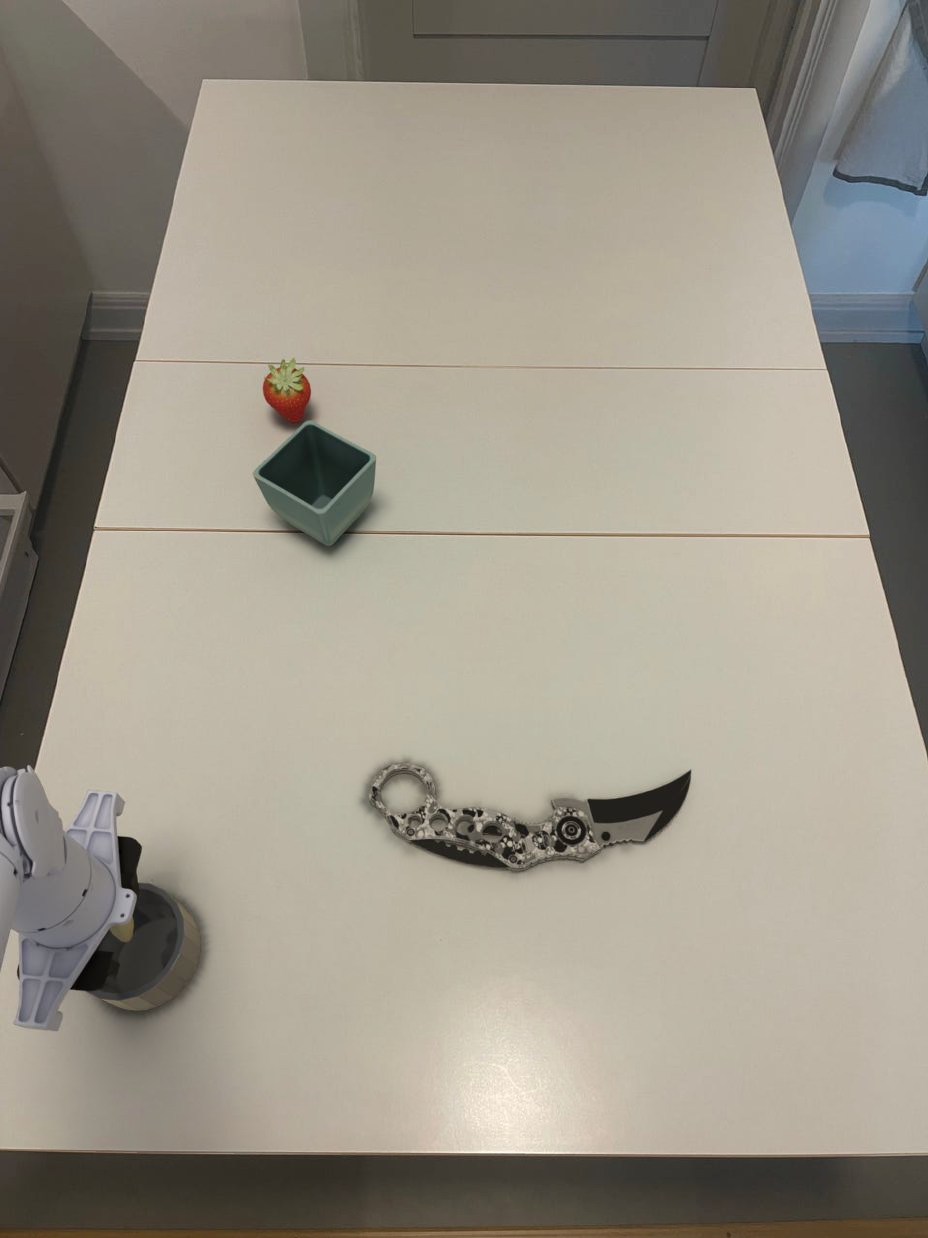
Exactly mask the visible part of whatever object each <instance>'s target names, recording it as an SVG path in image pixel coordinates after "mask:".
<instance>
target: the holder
mask: <svg viewBox="0 0 928 1238" xmlns="http://www.w3.org/2000/svg"><path fill="white" fill-rule="evenodd" d="M138 884H139V889H140V893H139V896H138V900H137V901H136V904H135V908H134V911H133V915H132V916H133V920H134V928H133V936H132V939H131V940H130V941H129V942H122V941H120V940H119V939H118V938H117V937H116V936H114V935H113V933H112V932H111V931H110V929H109V930H108V931H107V933H106V935H105V936H104V938H103V939H102V941H101V942H100V944H99V945H98V947H97V948H96V951H107V952H114V954H113V958H112V959H113V960H114V961H116V962H119V963H120V967H119V971H118V974H117V975H110V976H108V977H107V980H106V982H105V985H104V987H103V989H100V990H96V991H85V992H86V993H88V994H90V995H92V996H93V997H95V998H98V999H100V1000H103V1001H104V1002H106V1003H108V1004H111V1005H113V1006H115V1007H118V1008H120V1009H123V1010H127V1011H136V1012H137V1011H139V1012H141V1011H149V1010H151V1009H155V1008H157V1007H160V1006H163V1005H164V1004H166V1003H169V1002H170V1001H171V1000H173V999H174V998H175V997H176V996H178V995H179V994H180V993H182V991H183V990H184V989H185V987H187V985H188V984H189V982H190V981H191V980H192V978H193V976H194V975H195V972H196V971H197V968H198V965H199V961H200V958H201V952H202V941H201V934H200V930H199V926H198V924H197V922H196V921H195V918H193V916H192V915H191V913H190V912H188V911H187V909H186V908H185V907H184V906H182V904H180V903H179V901H177V899H176V898H174V897H173V896H172V895H171V894H170V893H169V892H168V891H167V890H165V889H163V888H161V887H160V886H157V885H155V884H153V883H149V882H139V881H138Z"/></svg>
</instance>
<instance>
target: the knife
mask: <svg viewBox="0 0 928 1238" xmlns="http://www.w3.org/2000/svg"><path fill="white" fill-rule="evenodd" d="M404 773H405V774H411V775H413V776H415V777H417V778H418V779H419V780H420V781H421V782H422V784H424V788H425V796H424V799H423V801H422V803H421V804H419V806H418V807H416V808H415V809H413V810H411V811H408V812H396V811H393V810H392V809H389V808H388V807H387V806H386V805H385V804H384V802H383V801H382V798H381V792H382V788H383V786H384V784H385V782H386V781H387V780H388V779H389V778H391V777H393V776H395V775H398V774H404ZM691 782H692V768H690V769H689V770H687V771H685V772H683V773H681V774H680V775H678V776H677V777H674V778H673V779H671V780H670V781H667V782H664V783H662V784H660V785H657V786H654V787H652V788H650V789H646V790H641V791H638V792H637V791H636V792H634V793H629V794H625V795H620V796H617V797H616V796H615V797H588V798H586V799H585V800H581V799H579V798H577V797H571V796H569V797H568V796H557V797H554V798H552V799H551V800H550V802H551V804H552V806H553V809H554V811H553V813H552V814H550V815H548V817H547V818H546V819H544V821H543V820H542V821H541V822H537V823H536V822H533V823H531V822H524V821H521V820H519V819H516V818H515V817H511V816H509V815H506V814H505V813H503V812H500V811H498V810H495V809H490V808H487V807H486V808H485V807H481V806H479V807H477V806H476V807H475V806H473V807H472V806H471V807H447V806H444V805H443V804H441V803H440V802H439V801H438V799H437V797H436V796H437V795H436V785H435V783H434V779H433V777H432V776H431V775H430V773H429V772H428V771H427V770H426V769H424V768H423V766H419V765H417V764H415V763H409V762H397V763H393V764H390V765H388V766H385V767H384V768H382V769H380V771H379V772H378V773H377V774H376V775H375V777H374V778H373V780H372V781H371V783H370V787H369V791H368V799H369V803H370V804H371V805H372V806H373V807H374V808H376V809H377V810H378V811H379V812H380V813H381V814H382V816H383V817H384V818H385V819H386V821H387V823H388V824H389V826H390V829H391V831H392V832H393V833H394V834H396V835H397V836H398V837H400V838H401V839H403V840H404V841H406V842H407V843H409V844H411V843H412V844H414V845H416V846H418V847H420V848H421V849H424V850H425V851H428V852H430V853H433V854H436V855H438V856H442V857H444V858H447V859H450V860H452V861H453V860H454V861H456V862H459V863H460V862H461V863H464V864H470V865H474V866H479V867H485V868H486V867H487V868H499V869H500V868H501V869H502V868H504V869H509V870H510V871H514V872H520V871H525V870H527V869H529V868H530V867H534V866H535V865H537V864H541V863H543V862H545V861H551V860H559V859H568V860H574V859H575V860H577V861H582V862H584V861H586V860H588V859H589V858H591V857H592V856H594V855H596V854H597V853H599V852H600V851H601V850H602V848H603V847H604V846H609V844H612V845H615V844H616V843H617V842H618V843H622V842H623V841H624V842H629V841H632V842H642V843H647V842H648V841H649V840H651V839H652V838H653V837H655V836H656V835H658V834H659V833H660V832H661V831H662V830H663V829H664V828H666V827H667V826H668V825H669V824H670V823H671V822H672V821H673V819H674V818H675V817H676V816H677V814H678V813H679V811H680V810H681V808H682V806H683V804H684V802H685V801H686V798H687V795H688V793H689V790H690V785H691ZM434 819H442V820H444V822H445V824H446V825H445V827H443V829H442V830H435V829H433V828H432V826H431V824H432V822H433V820H434ZM412 820H418V821H419V822H420V824H419V826H416V827H413V826H411V825H410V821H412ZM464 820H465V821H469V822H471V823H472V824H468V825H467V827H466V830H467V833H468V834H463V833H461V832H459V830H458V829H457V825H458V824H459V822H461V821H464ZM498 829H499V830H500V831H498ZM484 835H491V836H492V835H493V836H501V837H500V838H499V839H498V840H495V841H489V840H488V839H486V838H485V836H484ZM447 844H451V845H447ZM458 846H463V847H465V848H463V849H462V850H461V849H459V848H458ZM468 848H469V849H468ZM470 849H472V850H475V851H473V852H470Z"/></svg>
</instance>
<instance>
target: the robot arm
mask: <svg viewBox="0 0 928 1238" xmlns="http://www.w3.org/2000/svg"><path fill="white" fill-rule="evenodd" d="M125 804H126V801H125V800H124V799H123V798H122V796H121V795H120V794H119V792H117V791H107V790H99V789H98V790H97V789H88V790H87V791H86V794H85V797H84V799H83V802H82V803H81V806H80V807H79V809H78V811H77V813H76V814H75V815H74V817H73V818H72V820H71V822H70V823H69V824H68V826H67V827H66V828H65V830H64V827H63V820H62V818H61V817H60V813H59V811H58V810H57V809H55V808H54V807H53V806H52V804H51V803H50V801H49V799H48V796H47V794H46V791H45V788H44V785H43V783H42V781H41V779H40V778H39V776H38V773H36V771H35V770H34V768H33V767H32V765H30V764H27V766H26V768H20V769H17V770H16V768H14V767H12V766H3V767H0V972H1V971H2V967H3V963H4V959H5V954H6V950H7V946H8V942H9V938H10V934H11V930H12V931H14V932H16V933H17V934H18V965H17V969H16V977H17V979H18V981H19V984H18V985H19V990H18V991H19V993H18V995H19V997H18V1003H17V1004H18V1005H17V1010H16V1015H15V1018H14V1022H13V1025H14V1026H17V1027H19V1028H20V1027H21V1028H24V1029H27V1030H36V1031H37V1030H38V1031H48V1032H59V1031H60V1027H61V1023H62V1021H63V1016H64V1014H63V1012H62V1011H59V1009H60V1007H61V1005H62V1003H63V1002H64V1000H65V998H66V996H67V994H68V993H69V992H70V991H78V992H79V991H80V992H86V991H96V990H100V989H103V987H104V985H105V982H106V980H107V977H108V976H110V975H117V974H118V971H119V967H120V963H119V962H116V961H114V960H113V959H112V958H113V954H114V952H107V951H96V948H97V947H98V945H99V944H100V942H101V941H102V939H103V938H104V936H105V935H106V933H107V931H108V930H109V928H110V927H111V926H113V925H116V924H118V925H124V924H127V923H128V922H130V920H131V918H132V915H133V911H134V908H135V904H136V901H137V900H138V896H139V893H140V889H139V884H138V882H139V880H138V879H139V878H138V872H137V871H138V867H139V863H140V861H141V860H140V859H141V856H142V851H143V846H142V845H141V843H140V842H139V841H138V840H137V839H136V838H134V837H131V836H124V835H118V825H117V817H120V816H121V815H122V814H123V812H124V809H125Z"/></svg>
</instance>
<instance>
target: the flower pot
mask: <svg viewBox="0 0 928 1238" xmlns="http://www.w3.org/2000/svg"><path fill="white" fill-rule="evenodd" d="M376 465H377V455H375V454H374V453H373V452H371V451H369V450H367V449H366V448H363V447H362V446H360V445H359V444H356V443H354V442H352V441H350V440H348V439H346V438H345V437H343V436H341V435H339V434H337V433H335V432H334V431H331V430H329V429H328V428H326V427H325V426H323V425H321V424H319V423H318V422H315V421H313V420H306V421H304V422H303V423H302V424H301V425H300V426H298V428H297V429H296V430H295V431H294V432H293V433H292V434H291V435H290V436H289V437H288V438H287V439H286V440H285V441H284V442H282V444H280V446H278V447H277V448H276V449H275V450H274V451H273V452H272V453H271V454H270V455H268V457H267V458H266V459H265V460H263V461H262V462H261V463H260V464H259V465H258V466H257V467H256V468H255V469H254V470H253V472H252V476H253V478H254V480H255V482H256V484H257V486H258V488H259V490H260V492H261V494H262V496H263V498H264V500H265V502H266V503H267V505H268V506H269V507H270V509H271V510H272V511H273V512H274V514H276V516H278V517H279V518H280V519H282V520H283V521H285V522H286V523H288V524H289V525H291V526H292V527H294V528H295V529H297V530H299V531H301V532H303V533H304V534H306V535H308V536H309V537H311V538H313V539H315V540H316V541H317V542H319V543H321V544H322V545H324V546H326V547H330V546H332V545H334V544H335V543H336V542H337V540H339V538H340V537H342V535H343V534H344V533H345V532H346V531H347V530H348V529H349V528H350V527H351V526H352V524H354V523H355V521H356V520H357V519H358V518H359V517H360V516H361V514H363V512H364V511H365V510H366V509H367V506H368V505H369V503H370V502H371V499H372V497H373V493H374V489H375V481H376V468H377V467H376Z"/></svg>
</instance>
